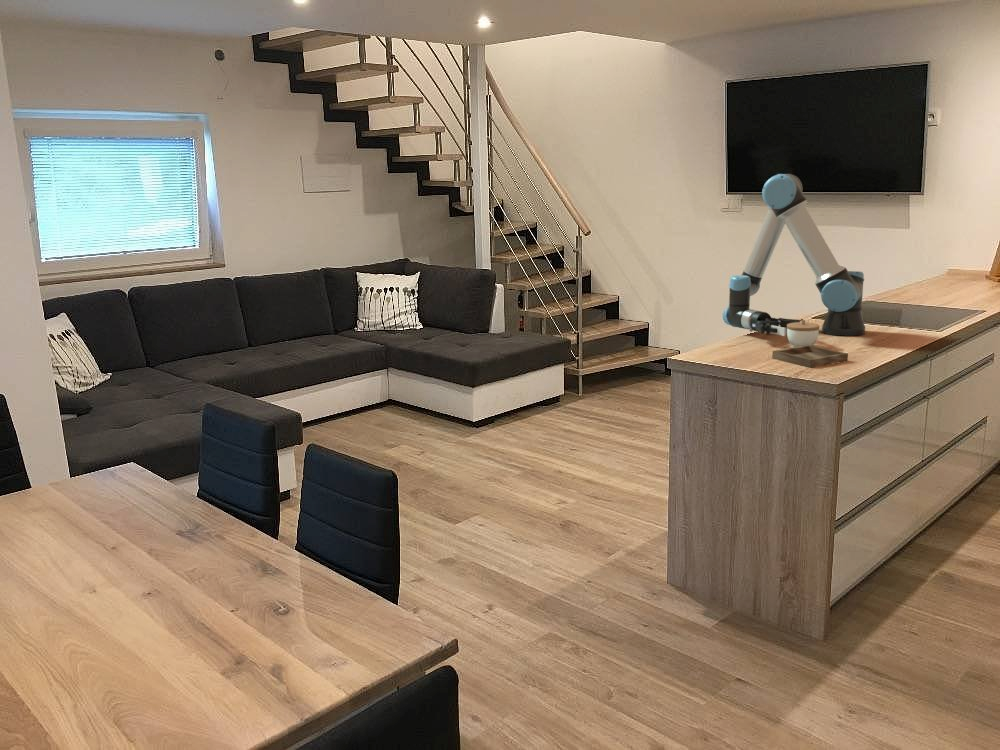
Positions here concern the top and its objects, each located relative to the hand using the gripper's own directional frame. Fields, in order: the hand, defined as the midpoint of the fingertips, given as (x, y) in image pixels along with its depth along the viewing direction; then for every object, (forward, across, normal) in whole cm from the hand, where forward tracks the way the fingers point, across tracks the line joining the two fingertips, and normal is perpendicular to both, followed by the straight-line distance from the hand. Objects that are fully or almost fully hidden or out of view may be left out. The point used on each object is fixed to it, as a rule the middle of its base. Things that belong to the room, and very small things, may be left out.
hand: (799, 329), depth 304 cm
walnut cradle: (+17, +12, -6) cm, 22 cm away
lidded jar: (+1, -1, -6) cm, 6 cm away
